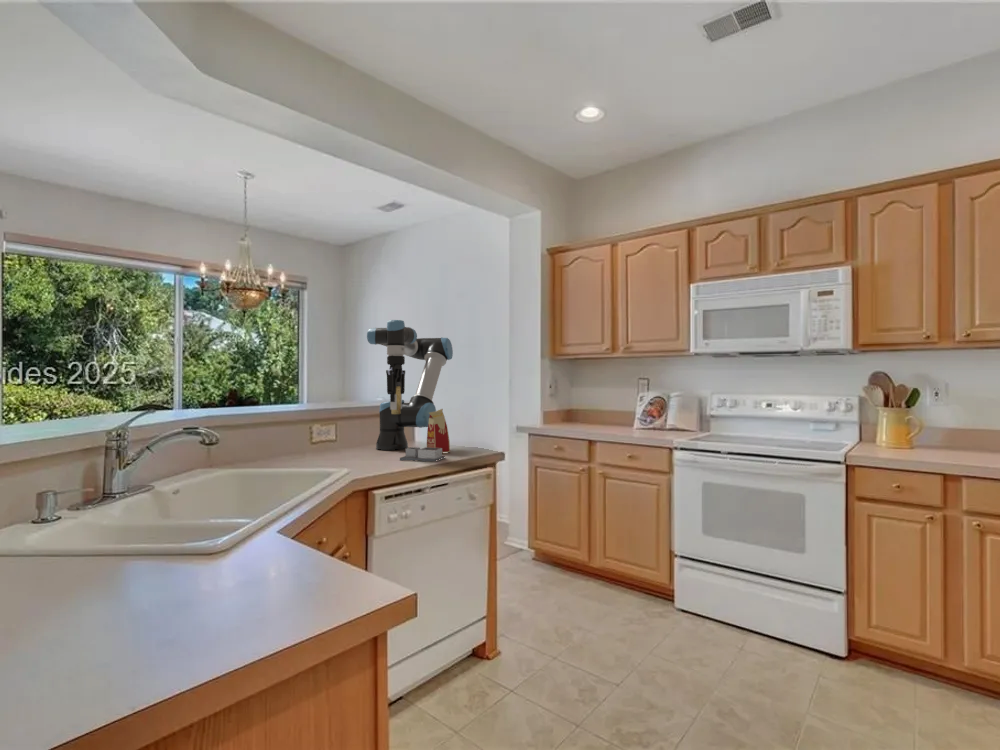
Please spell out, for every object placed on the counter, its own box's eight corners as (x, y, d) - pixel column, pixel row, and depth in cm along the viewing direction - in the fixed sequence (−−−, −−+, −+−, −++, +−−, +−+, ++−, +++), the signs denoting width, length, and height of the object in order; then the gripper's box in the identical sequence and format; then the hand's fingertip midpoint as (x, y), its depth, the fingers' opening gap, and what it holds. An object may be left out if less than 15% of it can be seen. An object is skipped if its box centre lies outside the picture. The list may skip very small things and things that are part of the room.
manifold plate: (410, 456, 223) (410, 446, 223) (445, 458, 218) (445, 447, 218) (399, 460, 213) (399, 449, 213) (435, 461, 209) (435, 450, 209)
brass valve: (394, 413, 228) (394, 381, 228) (402, 413, 226) (402, 381, 226) (389, 414, 224) (389, 381, 224) (398, 414, 223) (397, 381, 223)
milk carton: (442, 450, 242) (442, 408, 242) (450, 453, 234) (450, 408, 234) (424, 452, 237) (424, 408, 237) (432, 454, 229) (432, 409, 229)
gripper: (394, 354, 216) (394, 410, 216) (412, 356, 232) (412, 408, 232) (378, 355, 218) (378, 410, 218) (397, 356, 234) (397, 407, 234)
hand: (396, 409), depth 225 cm, fingers closed on brass valve, 4 cm apart
